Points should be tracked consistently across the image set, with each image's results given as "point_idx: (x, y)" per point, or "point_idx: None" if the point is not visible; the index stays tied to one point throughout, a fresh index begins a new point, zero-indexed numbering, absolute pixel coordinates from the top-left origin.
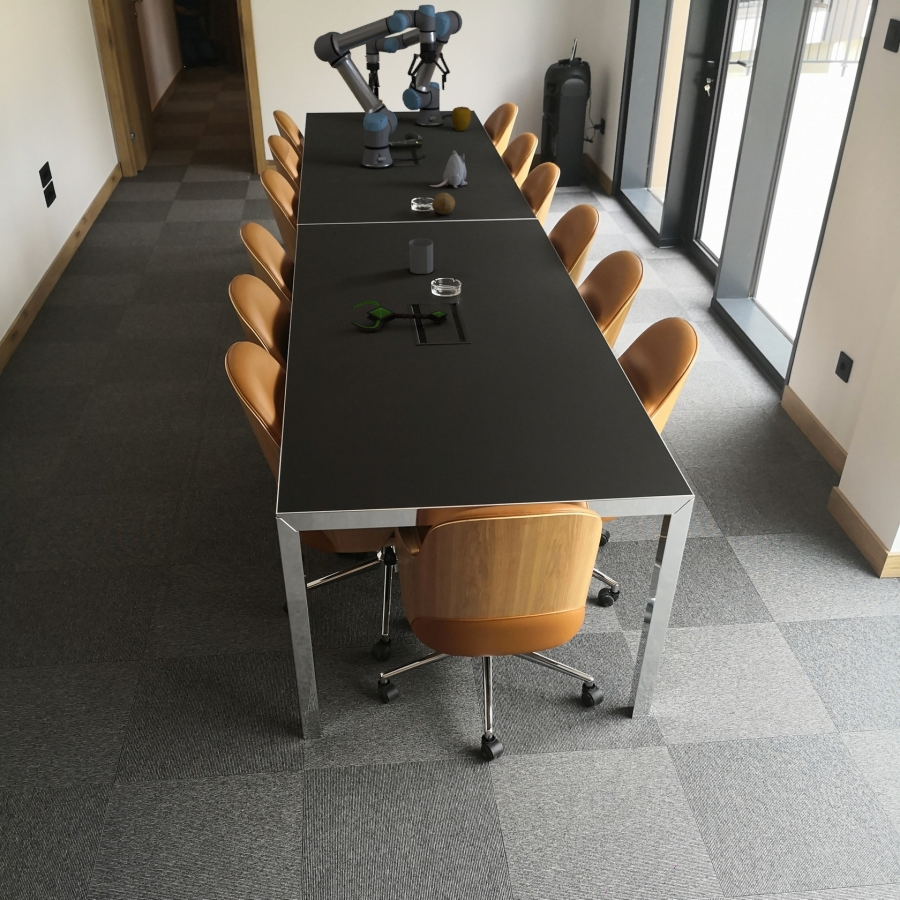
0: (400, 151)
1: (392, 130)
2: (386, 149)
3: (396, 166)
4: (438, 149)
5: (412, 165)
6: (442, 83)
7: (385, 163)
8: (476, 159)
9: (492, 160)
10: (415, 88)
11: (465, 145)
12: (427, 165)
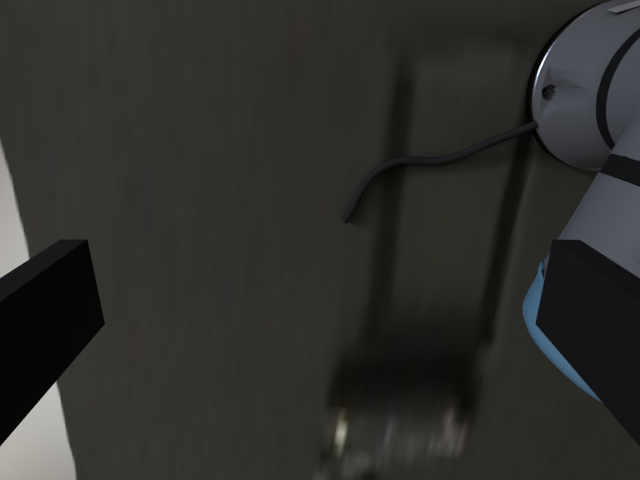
0: (434, 319)
1: (579, 208)
2: (622, 39)
3: (516, 47)
4: (263, 327)
5: (429, 55)
6: (30, 321)
7: (599, 7)
8: (93, 129)
9: (10, 97)
10: (593, 258)
11: (143, 371)
12: (351, 43)
